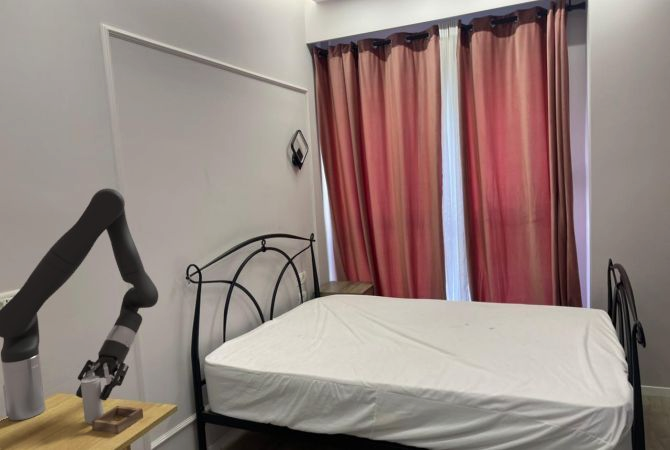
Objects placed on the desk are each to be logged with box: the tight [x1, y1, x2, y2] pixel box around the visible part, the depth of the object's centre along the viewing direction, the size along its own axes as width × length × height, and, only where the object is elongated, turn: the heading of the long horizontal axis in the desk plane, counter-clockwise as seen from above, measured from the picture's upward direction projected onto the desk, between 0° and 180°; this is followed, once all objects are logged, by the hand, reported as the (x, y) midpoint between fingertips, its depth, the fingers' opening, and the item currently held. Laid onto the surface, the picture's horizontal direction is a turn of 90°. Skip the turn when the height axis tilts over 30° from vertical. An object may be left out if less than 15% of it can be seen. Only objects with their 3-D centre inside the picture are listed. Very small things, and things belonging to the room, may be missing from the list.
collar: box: [91, 405, 144, 435], centre depth 128 cm, size 9×9×3 cm
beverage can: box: [80, 376, 104, 425], centre depth 130 cm, size 5×5×12 cm
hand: (90, 398), depth 130 cm, fingers open, 8 cm apart
